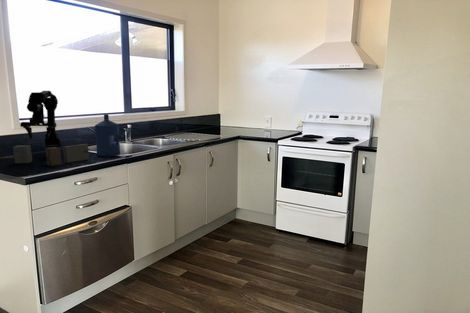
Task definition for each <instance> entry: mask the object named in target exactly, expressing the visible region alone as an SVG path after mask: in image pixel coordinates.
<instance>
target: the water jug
mask: <svg viewBox="0 0 470 313" xmlns="http://www.w3.org/2000/svg"><path fill="white" fill-rule="evenodd" d="M109 118H110V117H109V114H108V113H104V114H103V121H100V122H98V123H96V124H95V125H94V131H95V144H96V145H95V146H96V155H97V156H98V157H114V155H115V156H119V155H120V154H121V145H120V138H119V134H120V128H119V126H120V124H119V123H116V122H114V121H112V120H110V119H109ZM114 136H115V141H114Z"/></svg>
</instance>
